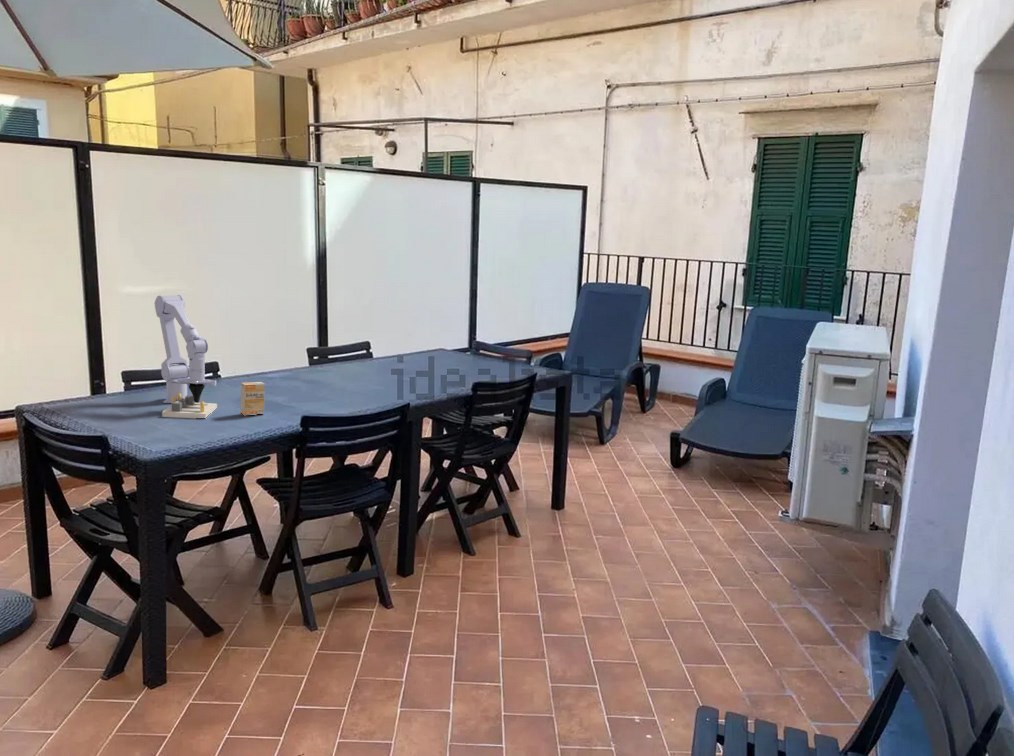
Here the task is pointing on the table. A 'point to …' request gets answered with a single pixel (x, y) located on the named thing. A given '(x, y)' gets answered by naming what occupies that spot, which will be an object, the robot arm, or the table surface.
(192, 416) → the switch panel
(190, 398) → the rear knob
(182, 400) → the middle knob
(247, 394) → the supplement box
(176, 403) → the front knob
